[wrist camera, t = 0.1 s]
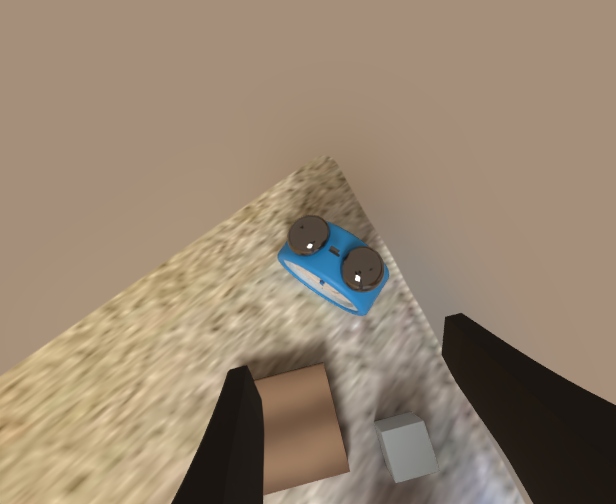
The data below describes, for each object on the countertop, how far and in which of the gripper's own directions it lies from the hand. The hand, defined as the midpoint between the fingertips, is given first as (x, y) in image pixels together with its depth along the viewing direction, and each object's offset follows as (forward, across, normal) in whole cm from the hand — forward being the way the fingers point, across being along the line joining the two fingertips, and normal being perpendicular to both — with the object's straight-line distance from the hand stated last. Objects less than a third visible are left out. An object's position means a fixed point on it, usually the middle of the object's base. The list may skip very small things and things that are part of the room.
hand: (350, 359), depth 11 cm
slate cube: (+12, -6, +32) cm, 35 cm away
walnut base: (+15, +7, +29) cm, 34 cm away
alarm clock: (+28, -3, +18) cm, 34 cm away
